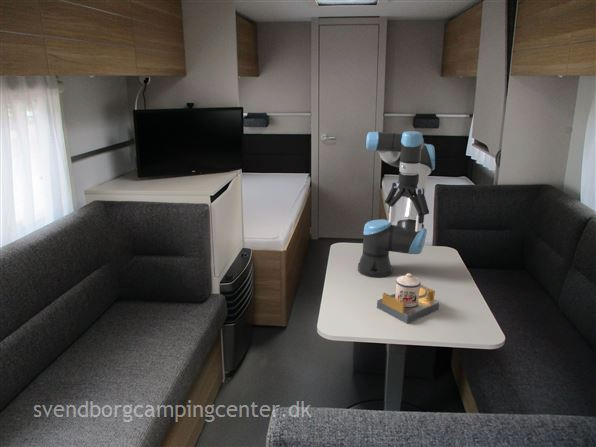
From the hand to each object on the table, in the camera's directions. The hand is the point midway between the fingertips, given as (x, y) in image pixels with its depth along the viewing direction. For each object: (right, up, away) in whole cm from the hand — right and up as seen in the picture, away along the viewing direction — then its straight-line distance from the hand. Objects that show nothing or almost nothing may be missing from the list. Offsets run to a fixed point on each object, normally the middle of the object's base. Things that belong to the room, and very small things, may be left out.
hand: (404, 226), depth 197 cm
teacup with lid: (+1, -29, -6) cm, 30 cm away
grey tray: (0, -32, -4) cm, 32 cm away
